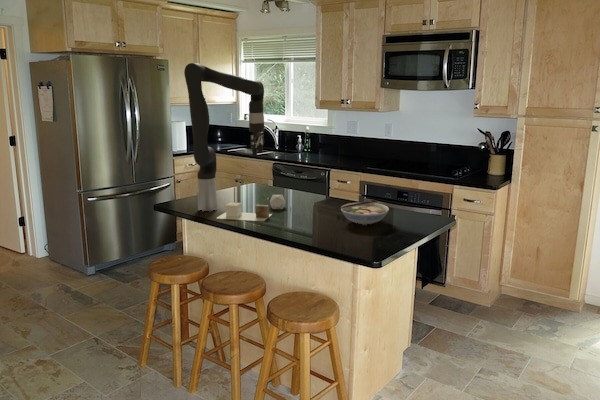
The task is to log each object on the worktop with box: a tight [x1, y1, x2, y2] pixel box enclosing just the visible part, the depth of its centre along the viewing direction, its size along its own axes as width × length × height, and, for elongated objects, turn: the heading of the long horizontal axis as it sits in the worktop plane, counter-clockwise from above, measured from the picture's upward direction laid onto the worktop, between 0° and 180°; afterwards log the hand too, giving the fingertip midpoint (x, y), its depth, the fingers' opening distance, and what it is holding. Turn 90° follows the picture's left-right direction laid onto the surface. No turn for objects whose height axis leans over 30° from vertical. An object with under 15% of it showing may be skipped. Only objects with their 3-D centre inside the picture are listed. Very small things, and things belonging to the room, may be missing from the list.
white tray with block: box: [216, 204, 273, 222], centre depth 258 cm, size 25×13×7 cm, turn 75°
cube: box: [225, 201, 243, 218], centre depth 259 cm, size 6×6×6 cm
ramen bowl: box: [335, 199, 390, 226], centre depth 245 cm, size 25×23×8 cm
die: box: [269, 194, 286, 210], centre depth 272 cm, size 8×9×10 cm
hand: (257, 154), depth 263 cm, fingers open, 8 cm apart
